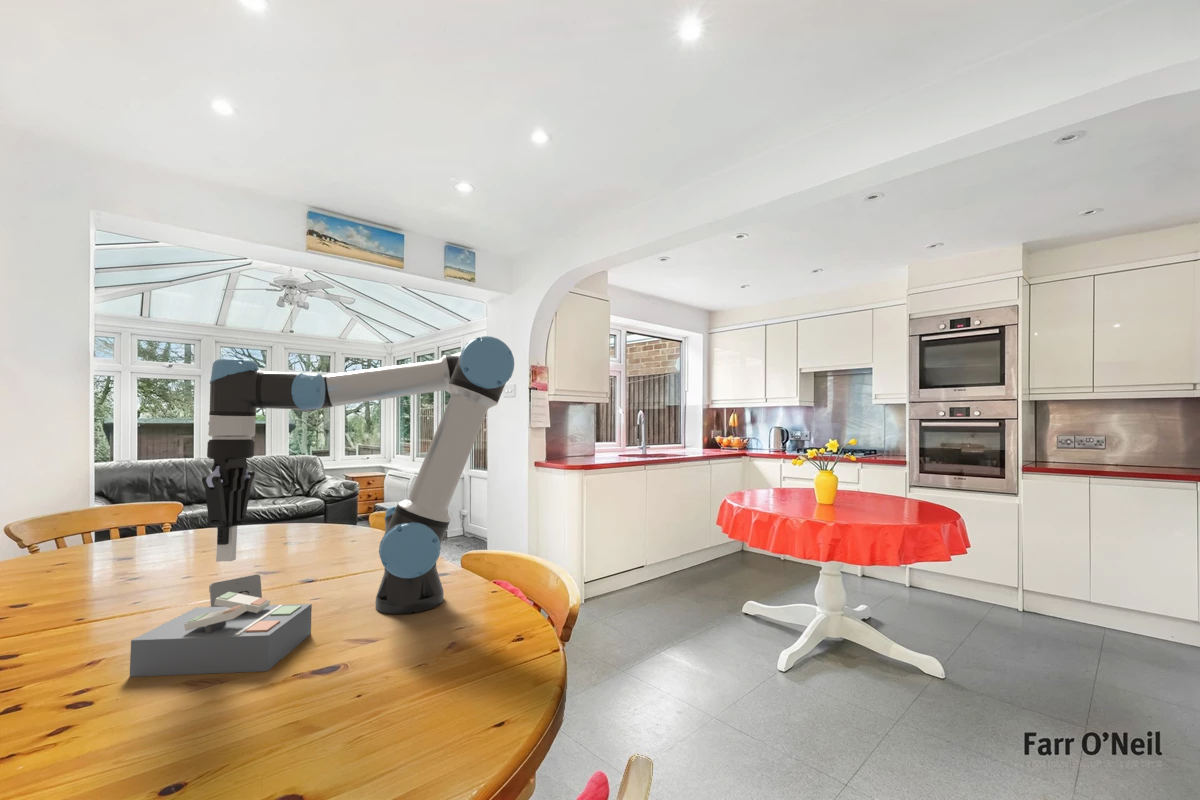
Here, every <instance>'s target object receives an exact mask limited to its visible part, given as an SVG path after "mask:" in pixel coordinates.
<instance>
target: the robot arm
mask: <svg viewBox="0 0 1200 800" xmlns="http://www.w3.org/2000/svg"><path fill="white" fill-rule="evenodd" d="M514 368H515V357H514V355H513V353H512V350H511V349H510V347H509V346H508V345H507V343H505V342H504V341H502V340H501V339H499V338H497V337H494V336H488V335H486V336H485V335H483V336H479V337H475V338H473V339H471V340H469V341H468V342H467V343H466V344H465V346H463V348H462V349H461V351H459V352H454V353H451V354H450V353H449V354H444V355H442V357H440V359H436V360H430V361H429V360H427V361H421V362H415V363H414V362H413V363H405V364H400V365H399V364H397V365H390V366H384V367H376V368H368V369H360V370H353V371H347V372H346V371H345V372H337V373H336V372H335V373H328V374H322V373H321V374H320V373H316V372H315V373H314V372H307V371H301V372H299V371H268V370H267V371H266V370H260V368H259V364H258V362H256V361H255V360H251V359H238V358H218V359H215V361H213V363H212V366H211V376H210V380H209V384H210V386H209V387H210V388H209V390H210V391H209V421H208V424H207V425H208V435H207V436H209V437H211V439H208V441H207V450H206V452H207V453H206V457H207V458H208V459H209V460H213V464H212V467H211V472H212V473H210V475H209V476H203V477H202V478H201V482H202V485H203V487H204V491H205V499H206V500H205V502H206V508H207V509H206V510H207V517H208V526H209V527H211V528H217V532H216V533H217V536H216V554H215V555H216V556H215V557H216V558H215V562H218V563H219V562H233V561H235V560H236V558H237V544H238V543H237V542H238V541H237V537H238V526H242V525H244V523H245V519H246V515H247V512H248V506H249V505H248V504H249V499H250V494H251V489H252V483H253V480H254V478H255V472H256V471H251V470H250V471H249V469H248V468H249V467H248V461H247V459H252V458H253V457H254V456H255V442H256V441H255V440H254V439H252V437H255V436H256V418H257V417H256V416H257V414H256V413H257V409H274V410H275V409H276V410H277V409H278V410H281V409H282V410H294V411H295V410H296V411H299V412H302V413H308V412H315V411H317V410H322V409H328V408H332V407H339V406H346V405H352V404H353V405H354V404H359V403H367V402H373V401H379V400H387V399H394V398H402V397H407V396H415V395H420V394H428V393H435V392H441V391H443V392H447V393H448V394H450V397H449V399H448V402H447V405H446V407H445V409H444V412H443V415H442V417H441V419H440V422H439V424H438V426H437V428H436V431H435V433H434V436H433V438H432V440H431V443H430V445H429V447H428V450H427V452H426V454H425V457H424V459H423V461H422V464H421V466H420V469H419V471H418V474H417V476H416V478H415V481H414V483H413V485H412V488H411V490H410V493H409V495H408V497H406V498H405V499H403V500H401V501H398V502H397V505H396V506H389V507H388V508H387V509H386V510H385V517H384V522H385V523H384V528H385V529H384V535H383V536H382V538H381V541H380V543H379V547H378V552H379V559H380V561H381V563H382V565H383V568H384V571H383V575H382V577H381V581H380V584H379V586H378V589H377V590H378V591H377V593H376V595H375V609H376V610H377V611H378V612H381V613H384V614H392V615H395V614H396V615H402V614H403V615H405V614H406V613H407V614H413V613H412V612H415V613H420V612H424V610H425V611H429V610H431V609H433V608H434V609H435V608H436V607H438V606H440V605H441V604H443V602H444V597H445V596H444V588H443V584H442V582H441V579H440V575H439V571H438V569H437V562H438V559H439V558H440V555H441V550H442V549H441V544H442V542H443V539H444V538H445V535H446V532H447V530H448V527H449V526H450V525H449V524H450V522H451V518H450V516H449V513H448V507H449V506H450V503H451V501H452V498H453V496H454V494H455V492H456V490H457V489H456V488H457V486H458V483H459V481H460V479H461V476H462V474H463V472H464V469H465V467H466V465H467V462H468V459H469V458H470V457H469V456H470V455H471V451H472V449H473V447H474V445H475V441H476V440H477V436H478V435H479V431H480V430H481V427H482V424H483V422H484V419H485V416H486V415H487V412H488V410H489V409H491V408H492V407H494V406H497V405H498V403H499V400H500V398H501V396H502V393H503V391H504V388H505V386H506V384H507V383H508V381H510V379H511V378H512V376H513V374H514V370H515V369H514ZM439 604H440V605H439ZM419 611H420V612H419ZM404 613H405V614H404Z"/></svg>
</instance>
